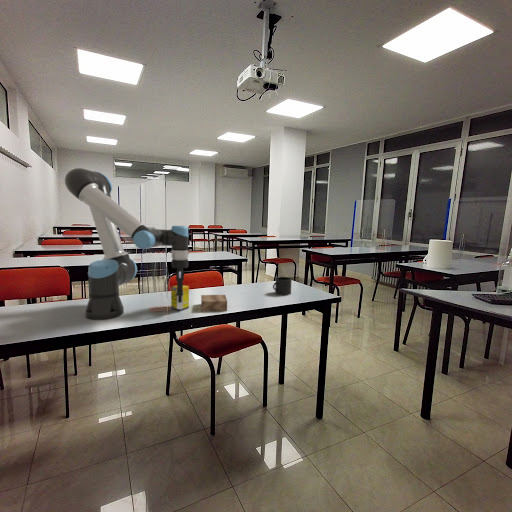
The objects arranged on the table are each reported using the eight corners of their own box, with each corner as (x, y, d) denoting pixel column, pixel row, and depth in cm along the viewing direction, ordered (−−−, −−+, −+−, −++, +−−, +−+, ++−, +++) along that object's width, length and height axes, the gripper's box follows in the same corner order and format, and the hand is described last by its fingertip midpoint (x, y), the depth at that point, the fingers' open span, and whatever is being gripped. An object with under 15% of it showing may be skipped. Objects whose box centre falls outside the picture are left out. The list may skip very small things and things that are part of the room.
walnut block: (201, 312, 140) (201, 301, 139) (201, 304, 152) (201, 295, 151) (226, 311, 142) (227, 301, 142) (224, 304, 154) (225, 294, 153)
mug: (268, 292, 179) (269, 277, 178) (284, 290, 185) (285, 276, 184) (277, 296, 171) (277, 281, 170) (294, 294, 177) (294, 279, 176)
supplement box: (170, 309, 142) (170, 286, 141) (179, 305, 147) (179, 284, 146) (180, 311, 139) (180, 288, 138) (189, 308, 144) (189, 285, 143)
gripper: (188, 262, 131) (188, 312, 134) (188, 255, 151) (187, 299, 154) (170, 262, 129) (171, 313, 132) (172, 255, 149) (172, 300, 152)
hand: (180, 305), depth 143 cm, fingers closed on supplement box, 8 cm apart
